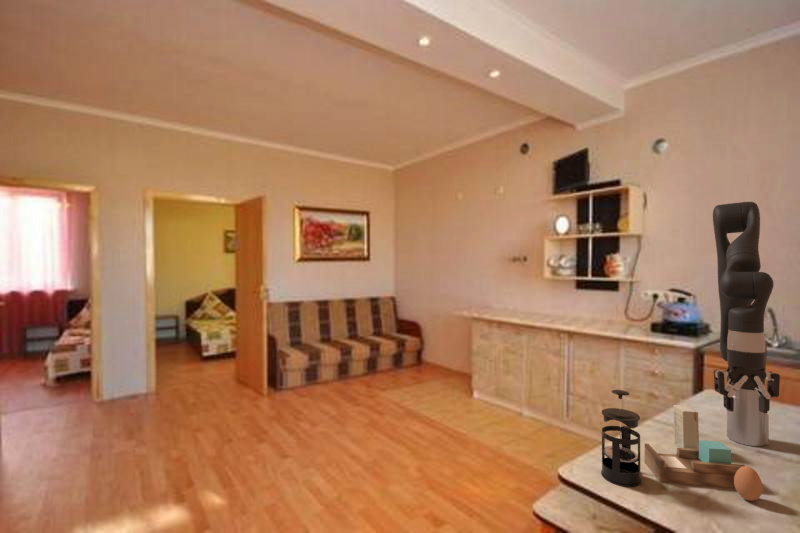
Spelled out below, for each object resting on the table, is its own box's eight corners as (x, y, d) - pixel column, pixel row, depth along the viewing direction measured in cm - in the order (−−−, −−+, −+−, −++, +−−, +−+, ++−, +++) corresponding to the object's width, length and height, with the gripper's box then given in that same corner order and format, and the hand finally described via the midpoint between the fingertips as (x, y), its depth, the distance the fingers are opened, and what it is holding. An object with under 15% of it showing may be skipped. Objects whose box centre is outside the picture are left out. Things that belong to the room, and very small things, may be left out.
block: (719, 459, 109) (719, 441, 109) (731, 469, 104) (731, 449, 104) (698, 458, 110) (698, 440, 109) (709, 467, 105) (709, 448, 105)
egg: (728, 494, 99) (728, 461, 99) (747, 492, 99) (747, 460, 99) (748, 506, 94) (748, 472, 94) (768, 505, 94) (768, 471, 94)
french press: (635, 492, 100) (635, 400, 100) (595, 479, 106) (594, 392, 106) (646, 474, 108) (646, 388, 108) (608, 462, 115) (608, 382, 115)
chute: (724, 468, 111) (724, 449, 111) (748, 489, 101) (748, 467, 101) (644, 462, 114) (644, 443, 114) (660, 481, 105) (660, 460, 105)
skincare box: (699, 453, 120) (699, 412, 119) (683, 452, 120) (683, 411, 120) (688, 443, 126) (688, 404, 126) (673, 442, 127) (673, 404, 127)
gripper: (767, 346, 107) (767, 408, 107) (706, 344, 110) (707, 404, 110) (788, 352, 100) (789, 418, 100) (723, 350, 103) (723, 415, 103)
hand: (746, 411), depth 105 cm, fingers open, 7 cm apart
